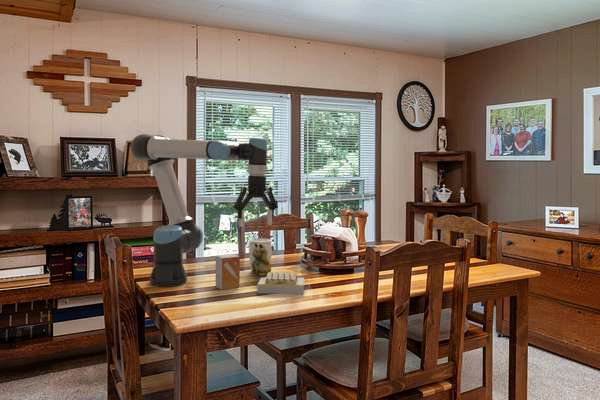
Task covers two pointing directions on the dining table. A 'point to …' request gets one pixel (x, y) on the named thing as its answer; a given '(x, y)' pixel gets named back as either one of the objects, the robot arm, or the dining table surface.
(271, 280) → the pallet
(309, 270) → the dining table surface
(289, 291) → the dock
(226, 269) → the small box
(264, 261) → the decorative figurine
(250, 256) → the jar
